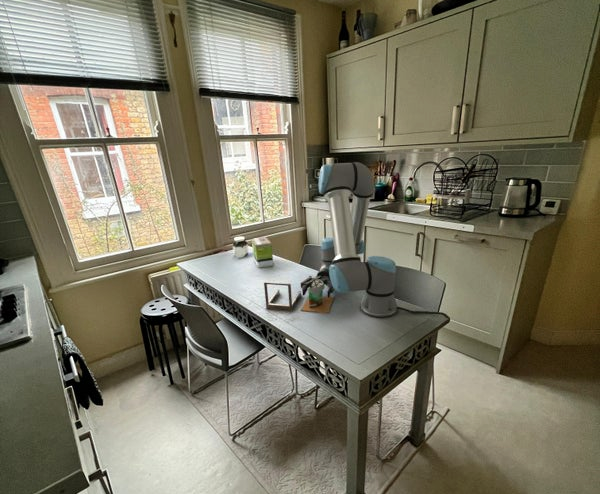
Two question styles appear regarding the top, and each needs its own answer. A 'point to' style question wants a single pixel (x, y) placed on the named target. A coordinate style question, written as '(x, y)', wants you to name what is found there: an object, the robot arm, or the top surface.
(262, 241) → the tea box
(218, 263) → the top surface
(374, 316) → the robot arm
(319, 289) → the food container
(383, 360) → the top surface
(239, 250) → the spread jar
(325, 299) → the cork mat
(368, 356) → the top surface
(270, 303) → the rack
